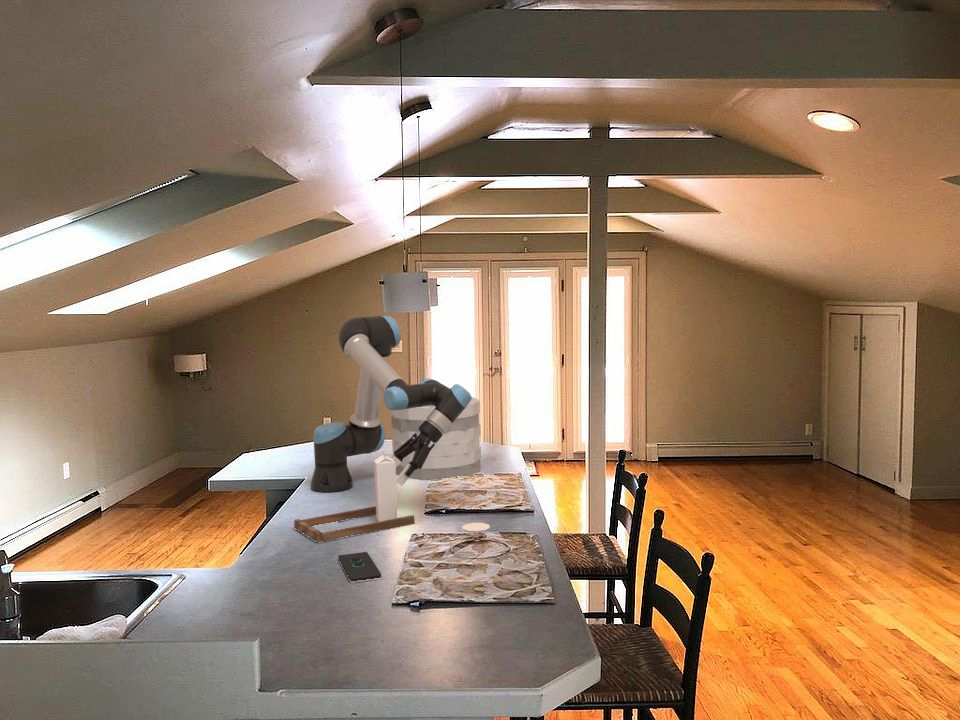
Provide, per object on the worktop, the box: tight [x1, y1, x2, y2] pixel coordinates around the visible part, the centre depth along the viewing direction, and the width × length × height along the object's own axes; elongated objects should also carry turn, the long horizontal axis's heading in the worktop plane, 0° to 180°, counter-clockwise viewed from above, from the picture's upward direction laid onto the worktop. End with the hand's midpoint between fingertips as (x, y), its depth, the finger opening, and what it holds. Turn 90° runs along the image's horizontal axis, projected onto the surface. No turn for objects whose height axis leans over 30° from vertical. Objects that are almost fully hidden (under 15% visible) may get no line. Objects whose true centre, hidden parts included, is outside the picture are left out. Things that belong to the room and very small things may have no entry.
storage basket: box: [390, 396, 482, 481], centre depth 337 cm, size 35×35×27 cm
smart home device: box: [337, 551, 382, 581], centre depth 224 cm, size 8×2×20 cm
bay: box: [293, 505, 416, 542], centre depth 262 cm, size 18×32×3 cm, turn 124°
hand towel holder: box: [461, 522, 503, 540], centre depth 239 cm, size 17×4×21 cm
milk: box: [373, 449, 398, 522], centre depth 268 cm, size 6×6×22 cm
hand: (391, 479), depth 267 cm, fingers open, 13 cm apart
